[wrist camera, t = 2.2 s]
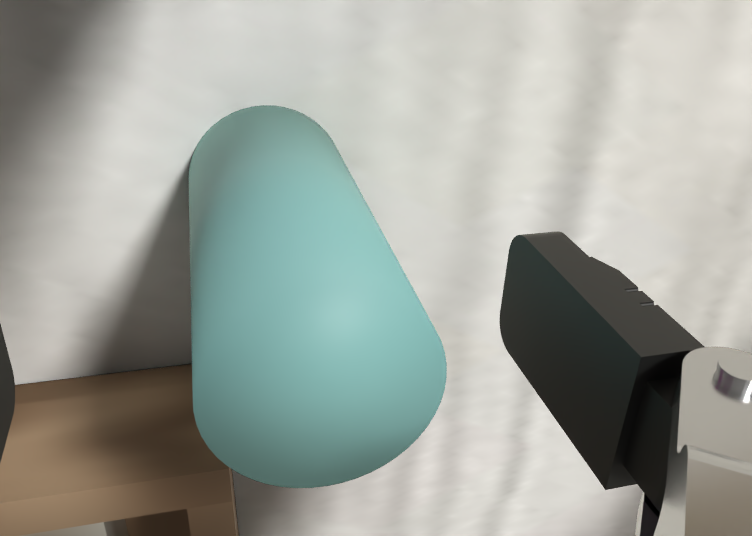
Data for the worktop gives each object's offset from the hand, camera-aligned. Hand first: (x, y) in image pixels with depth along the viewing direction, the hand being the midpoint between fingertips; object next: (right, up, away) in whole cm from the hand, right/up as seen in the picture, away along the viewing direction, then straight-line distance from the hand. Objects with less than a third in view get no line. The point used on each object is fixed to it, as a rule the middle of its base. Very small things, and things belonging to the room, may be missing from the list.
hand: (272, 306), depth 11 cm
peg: (-1, +3, +6) cm, 6 cm away
